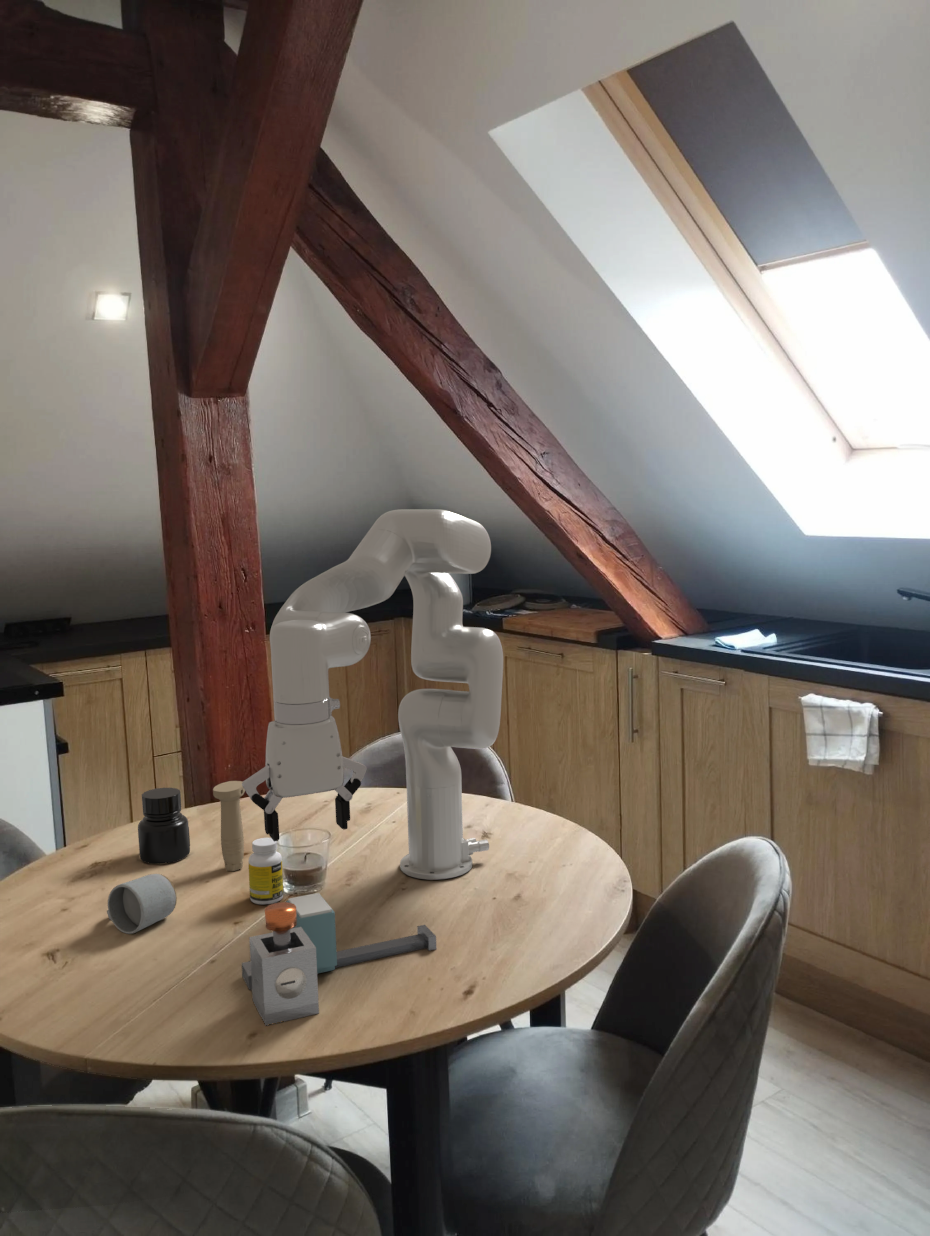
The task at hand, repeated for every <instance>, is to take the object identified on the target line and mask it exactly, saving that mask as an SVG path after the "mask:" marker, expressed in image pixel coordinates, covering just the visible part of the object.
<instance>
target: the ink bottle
mask: <svg viewBox="0 0 930 1236" xmlns="http://www.w3.org/2000/svg"><path fill="white" fill-rule="evenodd" d="M141 803H142V815H143V818H142V819H141V820H140V822H138V825H137V836H138V852H139V859H140V861H142V862H144V863H147V864H155V865H158V864H159V865H163V864H164V865H165V864H171V863H176V862H178V861H180V860H183V859H184V858H186V857H188V855H189V854H190V853H191V852H190V851H191V841H190V840H191V838H190V827H189V826H190V825H189V818H187V816H185V814H183V813H182V797H181V789H178V788H175V787H156V788H152V789H148V790H146V791H144V792H143V793H142V794H141Z"/></svg>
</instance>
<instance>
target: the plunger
mask: <svg viewBox="0 0 930 1236" xmlns="http://www.w3.org/2000/svg"><path fill="white" fill-rule="evenodd" d="M264 923H265V928H266V929H267V930H268V931H271V932H273V942H274V952H276V951H281V950H286V949H291V936H290V929H292V928H294V927H295V926H296V925H297V915H296V906H295V905H294V904H292V903H288V902H286V901H282V902H281V901H280V902H276V903H273V904H268V905H267V906H266V907H265V908H264Z"/></svg>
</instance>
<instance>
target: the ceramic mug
mask: <svg viewBox="0 0 930 1236" xmlns="http://www.w3.org/2000/svg"><path fill="white" fill-rule="evenodd" d="M176 891H177V890H176V888H175V886H174V884H173V882H172V881H171V880H170V879H169V877H167V876H165V875H164V874H163V873H161V874H160V873H153V874H152V873H151V874H147V875H144V876H141V877H138V878H135V879H132V880H129V881H126V882H123V883H120V884H116V886H114V887H113V888H112V889H111V890H110V893H109V894H108V897H107V910H106V914H107V917H108V919H109V920H110V921H111V922H112V923H113V925H114V926H115V927H116V928H117V930H119V931H120V932H121V933H124V934H127V935H132V934H135V933H137V932H139V931H141V930H143V929H145V928H148V927H150V926H152V925H154V924H155V923H157V922H159V921H162V920H164V919H165V918H167V917H168V916H170V915H171V914H172V913H173V912H174V910H175V909H176V905H177V899H178V897H177V892H176Z"/></svg>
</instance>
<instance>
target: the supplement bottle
mask: <svg viewBox="0 0 930 1236" xmlns="http://www.w3.org/2000/svg"><path fill="white" fill-rule="evenodd" d="M251 845H252V848H251V849H252V854H250V856H249V857H248V862H247V863H248V881H249V882H248V883H249V898H250V899H249V900H250V901H251V902H252V903H254V904H256V905H271V904H274V903H279V901H280V902H281V901H282V900H283V898H284V880H283V877H284V876H283V856H282V854H281V853H280V852H279V851H278V841H273V839H272V838H271V837H261V838H256V839H255V840H253V841H252V842H251Z"/></svg>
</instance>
